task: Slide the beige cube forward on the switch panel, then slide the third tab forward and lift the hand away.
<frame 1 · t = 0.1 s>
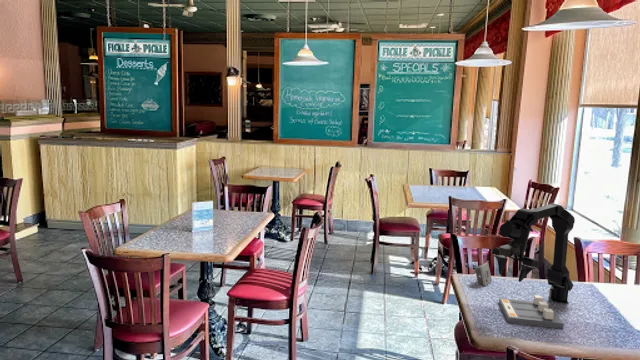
hand: (509, 278, 187), 15 cm above the table, tool pointing down, fingers open, 9 cm apart
tab 3: (548, 313, 181), point 4 cm above the table, slide at 0.0 cm
switch panel: (529, 314, 190), on the table
beige cube 1: (538, 300, 195), point 4 cm above the table, slide at 0.0 cm
tab 2: (543, 306, 188), point 4 cm above the table, slide at 0.0 cm
electrical switch: (482, 283, 225), on the table
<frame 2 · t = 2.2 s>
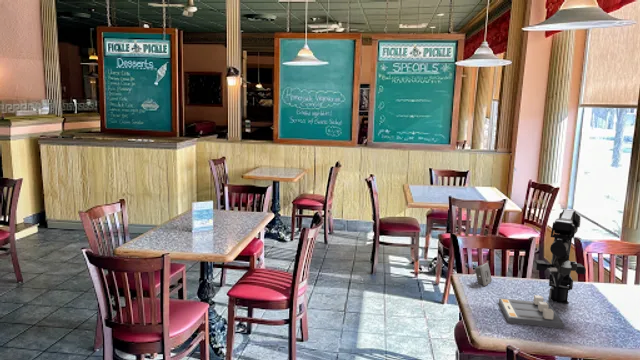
hand: (556, 286, 193), 10 cm above the table, tool pointing down, fingers closed
nothing on the table moved.
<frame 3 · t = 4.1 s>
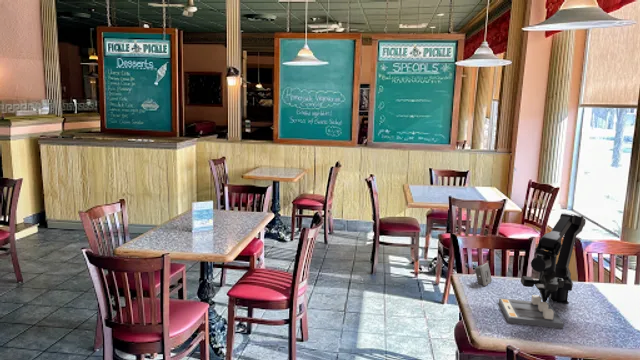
hand: (543, 302, 195), 3 cm above the table, tool pointing down, fingers closed
beige cube 1: (536, 299, 195), point 4 cm above the table, slide at 0.8 cm, touching gripper
everything else where it was.
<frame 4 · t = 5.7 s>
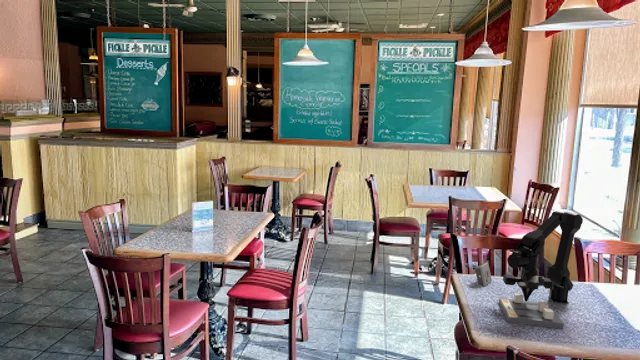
hand: (525, 300, 196), 3 cm above the table, tool pointing down, fingers closed
beige cube 1: (518, 298, 196), point 4 cm above the table, slide at 8.0 cm, touching gripper
everything else where it was.
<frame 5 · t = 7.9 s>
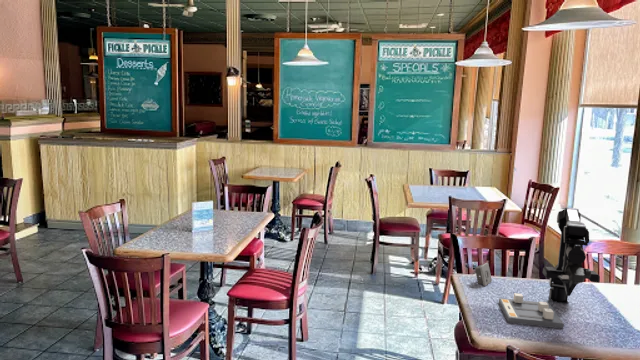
hand: (568, 295, 179), 12 cm above the table, tool pointing down, fingers closed
beige cube 1: (518, 298, 196), point 4 cm above the table, slide at 8.0 cm
everything else where it was.
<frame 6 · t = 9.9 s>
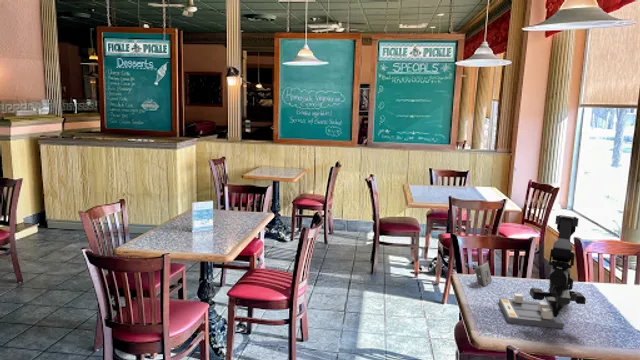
hand: (554, 316, 181), 3 cm above the table, tool pointing down, fingers closed
tab 3: (546, 313, 181), point 4 cm above the table, slide at 0.6 cm, touching gripper
everything else where it was.
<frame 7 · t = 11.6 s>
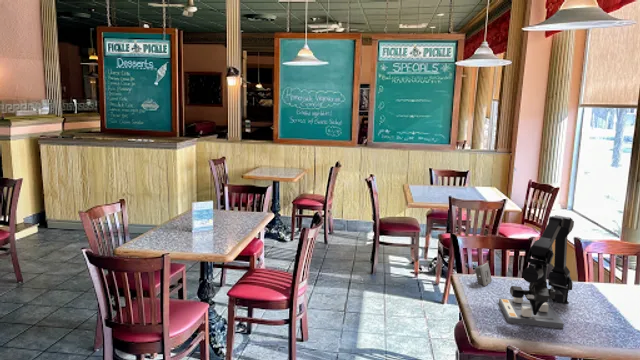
hand: (534, 314, 182), 3 cm above the table, tool pointing down, fingers closed
tab 3: (526, 311, 183), point 4 cm above the table, slide at 8.0 cm, touching gripper
everything else where it was.
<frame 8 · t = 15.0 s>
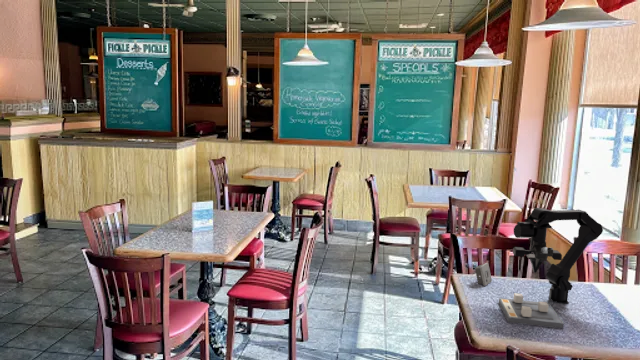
hand: (534, 272, 202), 13 cm above the table, tool pointing down, fingers closed
tab 3: (526, 311, 183), point 4 cm above the table, slide at 8.0 cm
everything else where it was.
at the end: beige cube 1 slide at 8.0 cm; tab 3 slide at 8.0 cm; tab 2 slide at 0.0 cm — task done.
